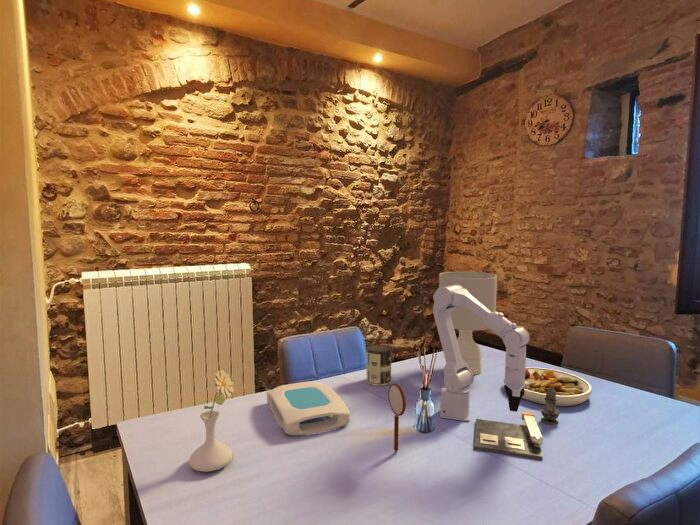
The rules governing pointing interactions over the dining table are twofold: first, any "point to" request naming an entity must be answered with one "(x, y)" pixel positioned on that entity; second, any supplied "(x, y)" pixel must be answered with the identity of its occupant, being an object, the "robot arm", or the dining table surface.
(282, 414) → the document scanner
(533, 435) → the swing arm
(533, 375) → the bowl
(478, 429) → the label panel
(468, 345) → the lamp
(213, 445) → the flower in vase
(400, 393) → the magnifying glass
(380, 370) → the coffee can
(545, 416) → the grey tall carved piece
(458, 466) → the dining table surface
